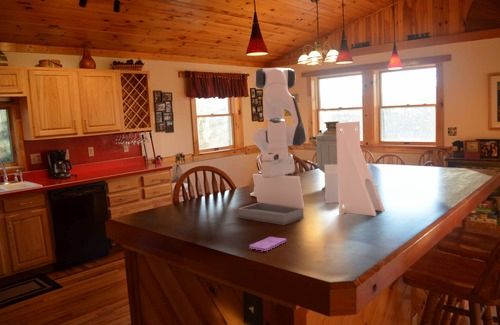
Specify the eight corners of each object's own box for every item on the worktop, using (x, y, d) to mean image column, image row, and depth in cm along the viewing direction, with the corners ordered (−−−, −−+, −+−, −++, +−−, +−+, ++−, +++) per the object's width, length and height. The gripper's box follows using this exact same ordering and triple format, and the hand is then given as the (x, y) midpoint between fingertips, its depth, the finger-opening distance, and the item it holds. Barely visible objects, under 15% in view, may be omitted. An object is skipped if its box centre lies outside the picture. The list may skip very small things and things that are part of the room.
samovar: (372, 188, 236) (370, 119, 232) (341, 194, 221) (338, 121, 217) (335, 183, 260) (332, 121, 256) (304, 188, 246) (302, 123, 242)
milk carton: (340, 203, 199) (338, 165, 197) (325, 203, 201) (324, 165, 199) (339, 200, 206) (338, 163, 204) (325, 200, 208) (324, 163, 206)
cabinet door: (252, 174, 187) (254, 173, 188) (257, 202, 191) (259, 201, 192) (298, 177, 170) (300, 176, 171) (303, 208, 173) (305, 206, 174)
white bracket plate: (369, 218, 167) (367, 121, 163) (338, 214, 177) (336, 123, 173) (389, 208, 182) (387, 120, 178) (359, 205, 192) (357, 121, 188)
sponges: (249, 250, 135) (249, 245, 135) (270, 240, 145) (270, 235, 145) (266, 253, 131) (266, 248, 131) (286, 243, 141) (286, 238, 141)
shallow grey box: (237, 217, 181) (237, 208, 180) (258, 211, 191) (257, 202, 191) (284, 225, 163) (283, 215, 163) (303, 217, 174) (303, 208, 173)
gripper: (286, 152, 190) (287, 181, 191) (258, 157, 175) (260, 188, 176) (297, 152, 186) (298, 181, 187) (269, 157, 170) (271, 189, 172)
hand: (280, 185), depth 181 cm, fingers closed
